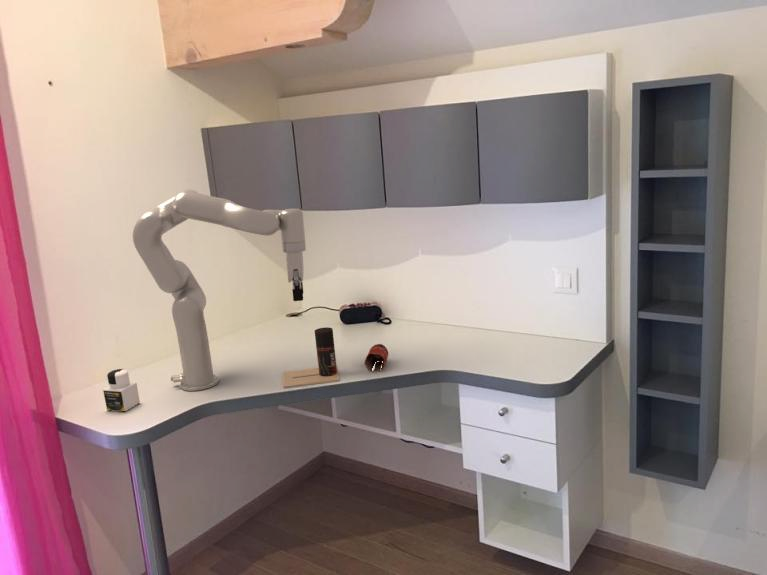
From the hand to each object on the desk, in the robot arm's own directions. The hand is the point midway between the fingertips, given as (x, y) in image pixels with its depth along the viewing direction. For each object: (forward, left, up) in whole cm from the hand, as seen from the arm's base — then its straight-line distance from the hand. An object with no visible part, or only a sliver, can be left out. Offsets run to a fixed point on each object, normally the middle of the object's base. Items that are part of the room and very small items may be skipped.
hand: (298, 297), depth 218 cm
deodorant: (+7, -7, -26) cm, 27 cm away
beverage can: (+24, -4, -26) cm, 36 cm away
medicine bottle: (-58, -12, -26) cm, 65 cm away
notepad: (+1, -7, -26) cm, 27 cm away
